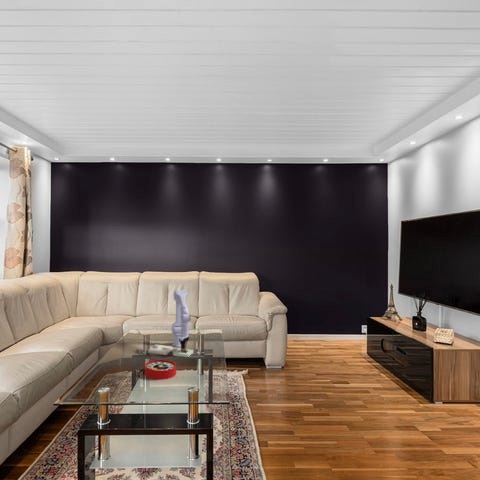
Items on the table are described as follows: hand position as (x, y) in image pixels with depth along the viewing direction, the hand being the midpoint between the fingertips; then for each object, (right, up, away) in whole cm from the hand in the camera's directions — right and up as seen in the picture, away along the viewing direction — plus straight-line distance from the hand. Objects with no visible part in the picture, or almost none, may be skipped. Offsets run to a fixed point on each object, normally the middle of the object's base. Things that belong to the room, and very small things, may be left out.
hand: (183, 347), depth 310 cm
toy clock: (-10, -7, -39) cm, 41 cm away
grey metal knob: (-22, -3, +4) cm, 23 cm away
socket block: (-18, -4, +4) cm, 19 cm away
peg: (0, -3, 0) cm, 4 cm away
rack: (0, -5, 0) cm, 5 cm away
